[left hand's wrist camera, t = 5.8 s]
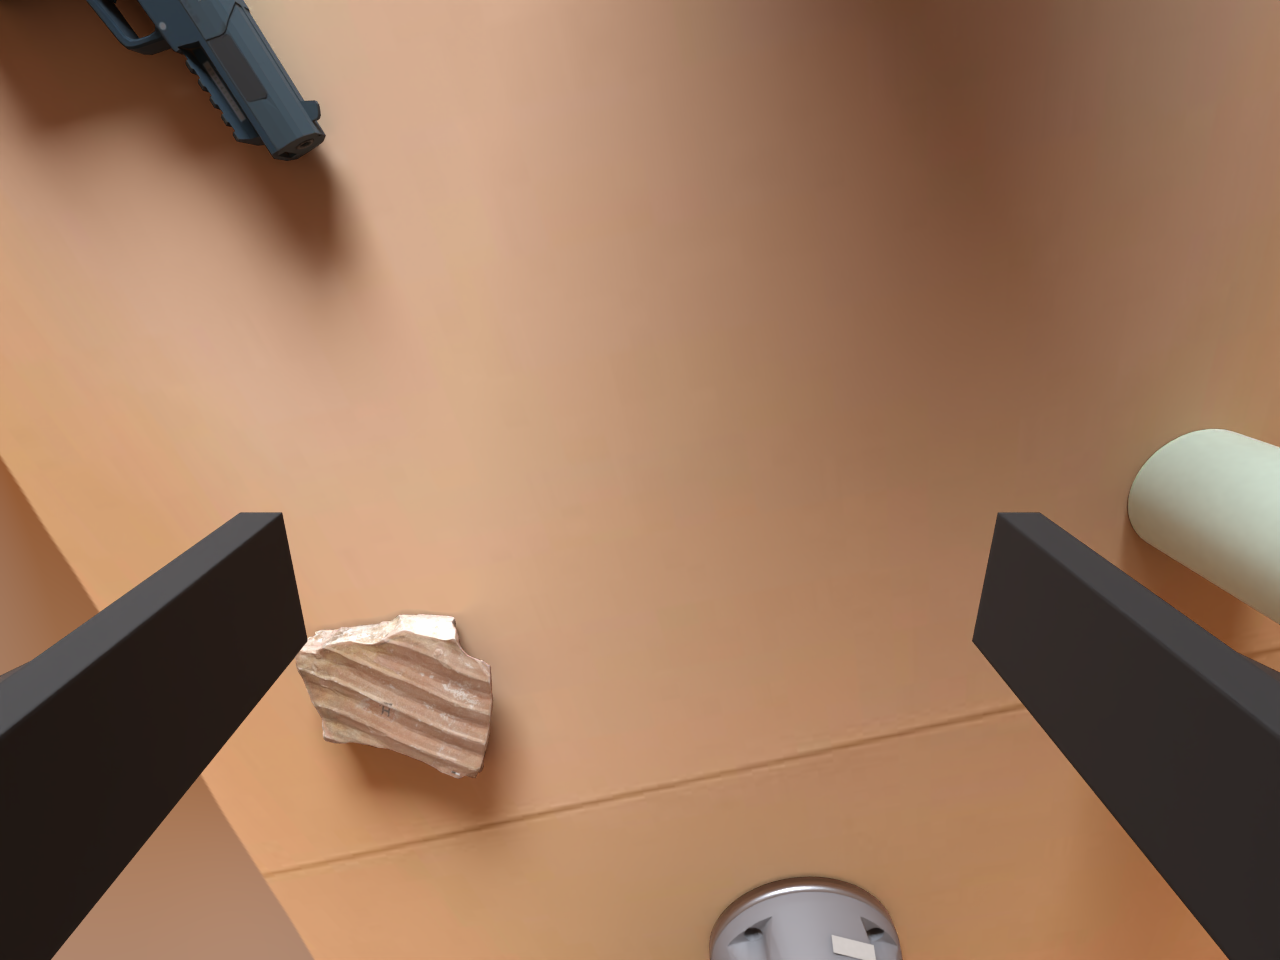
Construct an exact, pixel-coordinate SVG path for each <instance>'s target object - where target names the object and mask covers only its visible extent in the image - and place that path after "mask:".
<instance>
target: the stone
mask: <svg viewBox="0 0 1280 960" xmlns="http://www.w3.org/2000/svg"><path fill="white" fill-rule="evenodd" d="M315 633H316V635H315V636H313V637H309V638H308V639H307V640H308V641H307V643H306V644H305V645H304V646H303V648H302V649H301V650H300V651H299V653H298V654H297V655H296V656H295V659H296V666H297V669H298V672H299V674H300V675H301V677H302V678H303V680H304V683H305V686H306V688H307V691H308V693H309V695H310V698H311V701H312V703H313V705H314V706H315V708H316V709H317V711H318V713H319V714H320V716H321V718H322V728H323V738H324V740H325V741H328V742H332V743H360V744H365V745H370V746H373V747H377V748H386V749H390V750H393V751H396V752H399V753H401V754H404V755H406V756H409V757H412V758H414V759H417V760H419V761H422V762H424V763H426V764H428V765H430V766H432V767H434V768H436V769H437V770H439V771H440V772H442V773H445V774H448V775H450V776H453V777H455V778H458V779H459V778H462V777H464V776H469V777H473V778H476V776H477V773H478V772H481V771H482V769H483V767H484V760H483V759H484V756H485V753H486V747H487V745H488V739H489V735H490V725H489V723H490V719H491V713H492V708H493V696H492V680H491V667H490V665H489V664H487V663H486V662H484V661H483V660H479V659H476V658H473V657H471V656H469V655H468V654H467V653H466V652H464V651H463V649H462V647H461V646H460V644H459V636H458V632H457V630H456V628H455V618H454V617H451V616H441V615H424V614H418V615H398V616H397V617H396V618H395V619H394V620H392V621H385V622H381V623H379V624H374V625H365V626H356V627H348V628H345V627H341V628H339V629H335V630H320V631H317V632H315Z"/></svg>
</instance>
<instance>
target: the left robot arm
mask: <svg viewBox="0 0 1280 960" xmlns="http://www.w3.org/2000/svg"><path fill="white" fill-rule="evenodd" d="M307 641H308V640H307V635H306V630H305V625H304V620H303V615H302V610H301V605H300V600H299V595H298V590H297V585H296V580H295V575H294V570H293V565H292V560H291V555H290V550H289V545H288V540H287V535H286V530H285V525H284V520H283V515H282V513H239V514H238V515H236V516H235V517H233V518H232V519H231V520H229V521H228V522H226V523H225V524H223V525H222V526H221V527H219V528H218V529H216V530H215V531H214V532H212V533H211V534H209V535H208V536H207V537H205V538H204V539H202V540H201V541H200V542H198V543H197V544H195V545H194V546H192V547H191V548H190V549H188V550H187V551H185V552H184V553H183V554H181V555H180V556H178V557H177V558H176V559H174V560H173V561H171V562H170V563H168V564H167V565H166V566H164V567H163V568H161V569H160V570H159V571H157V572H156V573H154V574H153V575H152V576H150V577H149V578H147V579H146V580H144V581H143V582H142V583H140V584H139V585H137V586H136V587H135V588H133V589H132V590H130V591H129V592H128V593H126V594H125V595H123V596H122V597H121V598H119V599H118V600H116V601H115V602H113V603H112V604H111V605H109V606H108V607H106V608H105V609H104V610H102V611H101V612H99V613H98V614H97V615H95V616H94V617H92V618H91V619H89V620H88V621H87V622H85V623H84V624H82V625H81V626H80V627H78V628H77V629H75V630H74V631H73V632H71V633H70V634H68V635H67V636H65V637H64V638H63V639H61V640H60V641H58V642H57V643H56V644H54V645H53V646H51V647H50V648H49V649H47V650H46V651H44V652H43V653H42V654H40V655H39V656H37V657H36V658H34V659H33V660H32V661H30V662H28V663H26V664H23V665H21V666H19V667H17V668H15V669H13V670H11V671H9V672H7V673H5V674H3V675H1V676H0V960H51V959H52V958H53V956H54V955H55V954H56V952H57V951H58V950H59V949H60V948H61V946H62V945H63V944H64V943H65V941H66V940H67V939H68V938H69V936H70V935H71V934H72V933H73V931H74V930H75V929H76V928H77V927H78V925H79V924H80V923H81V922H82V920H83V919H84V918H85V917H86V915H87V914H88V913H89V912H90V910H91V909H92V908H93V907H94V905H95V904H96V903H97V902H98V901H99V899H100V898H101V897H102V896H103V894H104V893H105V892H106V891H107V889H108V888H109V887H110V886H111V884H112V883H113V882H114V881H115V879H116V878H117V877H118V876H119V874H120V873H121V872H122V871H123V870H124V868H125V867H126V866H127V865H128V863H129V862H130V861H131V860H132V858H133V857H134V856H135V855H136V853H137V852H138V851H139V850H140V848H141V847H142V846H143V845H144V843H145V842H146V841H147V840H148V839H149V837H150V836H151V835H152V834H153V832H154V831H155V830H156V829H157V827H158V826H159V825H160V824H161V822H162V821H163V820H164V819H165V817H166V816H167V815H168V814H169V813H170V811H171V810H172V809H173V808H174V806H175V805H176V804H177V803H178V801H179V800H180V799H181V798H182V796H183V795H184V794H185V793H186V791H187V790H188V789H189V788H190V786H191V785H192V784H193V783H194V781H195V780H196V779H197V778H198V777H199V775H200V774H201V773H202V772H203V770H204V769H205V768H206V767H207V765H208V764H209V763H210V762H211V760H212V759H213V758H214V757H215V755H216V754H217V753H218V752H219V751H220V749H221V748H222V747H223V746H224V744H225V743H226V742H227V741H228V739H229V738H230V737H231V736H232V734H233V733H234V732H235V731H236V729H237V728H238V727H239V726H240V724H241V723H242V722H243V721H244V720H245V718H246V717H247V716H248V715H249V713H250V712H251V711H252V710H253V708H254V707H255V706H256V705H257V703H258V702H259V701H260V700H261V698H262V697H263V696H264V695H265V693H266V692H267V691H268V690H269V689H270V687H271V686H272V685H273V684H274V682H275V681H276V680H277V679H278V677H279V676H280V675H281V674H282V672H283V671H284V670H285V669H286V667H287V666H288V665H289V664H290V663H291V661H292V660H293V659H294V658H295V656H296V655H297V654H298V653H299V651H300V650H301V649H302V648H303V646H304V645H305V644H306V643H307ZM972 641H973V643H974V644H975V645H976V646H977V648H978V649H979V650H980V651H981V653H982V654H983V655H984V656H985V658H986V659H987V660H988V661H989V663H990V664H991V665H992V666H993V667H994V669H995V670H996V671H997V672H998V674H999V675H1000V676H1001V677H1002V679H1003V680H1004V681H1005V682H1006V684H1007V685H1008V686H1009V687H1010V689H1011V690H1012V691H1013V692H1014V693H1015V695H1016V696H1017V697H1018V698H1019V700H1020V701H1021V702H1022V703H1023V705H1024V706H1025V707H1026V708H1027V710H1028V711H1029V712H1030V713H1031V715H1032V716H1033V717H1034V718H1035V720H1036V721H1037V722H1038V723H1039V724H1040V726H1041V727H1042V728H1043V729H1044V731H1045V732H1046V733H1047V734H1048V736H1049V737H1050V738H1051V739H1052V741H1053V742H1054V743H1055V744H1056V746H1057V747H1058V748H1059V749H1060V751H1061V752H1062V753H1063V754H1064V755H1065V757H1066V758H1067V759H1068V760H1069V762H1070V763H1071V764H1072V765H1073V767H1074V768H1075V769H1076V770H1077V772H1078V773H1079V774H1080V775H1081V777H1082V778H1083V779H1084V780H1085V782H1086V783H1087V784H1088V785H1089V786H1090V788H1091V789H1092V790H1093V791H1094V793H1095V794H1096V795H1097V796H1098V798H1099V799H1100V800H1101V801H1102V803H1103V804H1104V805H1105V806H1106V808H1107V809H1108V810H1109V811H1110V813H1111V814H1112V815H1113V816H1114V817H1115V819H1116V820H1117V821H1118V822H1119V824H1120V825H1121V826H1122V827H1123V829H1124V830H1125V831H1126V832H1127V834H1128V835H1129V836H1130V837H1131V839H1132V840H1133V841H1134V842H1135V843H1136V845H1137V846H1138V847H1139V848H1140V850H1141V851H1142V852H1143V853H1144V855H1145V856H1146V857H1147V858H1148V860H1149V861H1150V862H1151V863H1152V865H1153V866H1154V867H1155V868H1156V870H1157V871H1158V872H1159V873H1160V874H1161V876H1162V877H1163V878H1164V879H1165V881H1166V882H1167V883H1168V884H1169V886H1170V887H1171V888H1172V889H1173V891H1174V892H1175V893H1176V894H1177V896H1178V897H1179V898H1180V899H1181V901H1182V902H1183V903H1184V904H1185V905H1186V907H1187V908H1188V909H1189V910H1190V912H1191V913H1192V914H1193V915H1194V917H1195V918H1196V919H1197V920H1198V922H1199V923H1200V924H1201V925H1202V927H1203V928H1204V929H1205V930H1206V932H1207V933H1208V934H1209V935H1210V936H1211V938H1212V939H1213V940H1214V941H1215V943H1216V944H1217V945H1218V946H1219V948H1220V949H1221V950H1222V951H1223V953H1224V954H1225V955H1226V956H1227V958H1228V959H1229V960H1280V672H1277V671H1275V670H1273V669H1271V668H1269V667H1267V666H1265V665H1263V664H1261V663H1259V662H1257V661H1254V660H1252V659H1250V658H1248V657H1246V656H1244V655H1242V654H1240V653H1237V652H1236V651H1234V650H1233V649H1231V648H1230V647H1229V646H1227V645H1226V644H1224V643H1223V642H1222V641H1220V640H1219V639H1217V638H1216V637H1215V636H1213V635H1212V634H1210V633H1209V632H1207V631H1206V630H1205V629H1203V628H1202V627H1200V626H1199V625H1198V624H1196V623H1195V622H1193V621H1192V620H1191V619H1189V618H1188V617H1186V616H1185V615H1183V614H1182V613H1181V612H1179V611H1178V610H1176V609H1175V608H1174V607H1172V606H1171V605H1169V604H1168V603H1167V602H1165V601H1164V600H1162V599H1161V598H1159V597H1158V596H1157V595H1155V594H1154V593H1152V592H1151V591H1150V590H1148V589H1147V588H1145V587H1144V586H1143V585H1141V584H1140V583H1138V582H1137V581H1136V580H1134V579H1133V578H1131V577H1130V576H1128V575H1127V574H1126V573H1124V572H1123V571H1121V570H1120V569H1119V568H1117V567H1116V566H1114V565H1113V564H1112V563H1110V562H1109V561H1107V560H1106V559H1104V558H1103V557H1102V556H1100V555H1099V554H1097V553H1096V552H1095V551H1093V550H1092V549H1090V548H1089V547H1088V546H1086V545H1085V544H1083V543H1082V542H1080V541H1079V540H1078V539H1076V538H1075V537H1073V536H1072V535H1071V534H1069V533H1068V532H1066V531H1065V530H1064V529H1062V528H1061V527H1059V526H1058V525H1057V524H1055V523H1054V522H1052V521H1051V520H1049V519H1048V518H1047V517H1045V516H1044V515H1042V514H1041V513H998V514H997V520H996V525H995V530H994V535H993V540H992V545H991V550H990V555H989V560H988V565H987V570H986V575H985V580H984V585H983V590H982V595H981V600H980V605H979V610H978V615H977V620H976V625H975V630H974V635H973V640H972ZM709 952H710V960H903V959H902V953H901V948H900V944H899V939H898V936H897V933H896V930H895V927H894V925H893V922H892V919H891V917H890V915H889V913H888V912H887V910H886V909H885V907H884V906H883V905H882V904H881V903H880V902H879V901H878V900H877V899H876V898H875V897H874V896H872V895H871V894H870V893H868V892H866V891H865V890H863V889H861V888H859V887H857V886H855V885H852V884H850V883H847V882H843V881H840V880H835V879H830V878H822V877H797V878H789V879H783V880H779V881H775V882H771V883H768V884H765V885H763V886H760V887H758V888H755V889H753V890H751V891H750V892H748V893H746V894H744V895H743V896H741V897H740V898H738V899H737V900H736V901H734V902H733V903H732V904H731V905H730V906H729V907H727V908H726V910H725V911H724V912H723V913H722V914H721V916H720V917H719V918H718V920H717V922H716V923H715V925H714V927H713V930H712V933H711V936H710V942H709Z"/></svg>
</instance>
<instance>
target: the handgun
mask: <svg viewBox="0 0 1280 960" xmlns="http://www.w3.org/2000/svg"><path fill="white" fill-rule="evenodd" d="M86 1H87V2H88V3H89V5H90V6H91V7H92V8H93V10H94V11H95V12H96V13H97V15H98V16H99V17H100V18H101V20H102V21H103V22H104V23H105V24H106V26H107V27H108V28H109V29H110V31H111V32H112V33H113V34H114V36H115V37H116V38H117V39H118V41H119V42H120V43H121V44H122V45H124V46H125V47H126V48H127V49H129V50H132V51H135V52H138V53H141V54H145V55H153V54H156V53H159V52H162V51H165V50H167V49H170V48H172V49H173V50H174V51H175V52H178V53H181V54H183V55H185V56H186V58H187V59H188V60H186V66H187V67H188V69H189V70H190V72H191V73H193V74H196V75H198V76H199V77H200V79H198V84H199V85H200V87H201V88H202V90H203V91H206V92H210V94H211V95H212V96H210V102H211V103H212V105H213V106H214V108H217V109H220V110H221V111H222V112H223V114H222V115H221V118H222V120H223V121H224V123H225V124H226V126H230V127H233V129H234V130H235V132H233V136H234V138H235V139H236V141H238V142H243V143H248V144H253V145H265V146H266V147H267V149H268V150H269V152H270V153H271V155H272V156H273V158H274V159H280V160H286V161H288V160H294V159H298V158H299V157H301V156H303V155H304V154H306V153H307V152H309V151H310V150H312V149H314V148H315V147H316V146H318V145H319V144H321V143H322V142H323V141H324V138H325V136H326V135H325V134H324V132H323V130H322V129H321V127H320V126H319V124H318V122H317V120H319V119H320V116H321V114H320V107H319V104H318V102H317V101H304V100H303V98H302V96H301V95H300V93H299V92H298V90H297V88H296V87H295V85H294V84H293V82H292V80H291V79H290V77H289V75H288V74H287V72H286V71H285V69H284V67H283V66H282V64H281V63H280V61H279V59H278V58H277V56H276V55H275V53H274V51H273V50H272V48H271V46H270V45H269V43H268V42H267V40H266V38H265V37H264V35H263V34H262V32H261V30H260V29H259V27H258V25H257V24H256V22H255V21H254V19H253V17H252V16H251V14H250V11H249V9H248V7H247V5H246V4H245V2H244V1H243V0H138V2H139V3H140V5H141V6H142V7H143V9H144V10H145V12H146V13H147V14H148V16H149V17H150V19H151V20H152V21H153V23H154V24H155V31H154V32H153V33H152V34H150V35H149V36H146V37H143V38H139V37H138V36H137V34H136V33H135V32H134V31H133V29H132V28H131V27H130V25H129V24H128V22H127V21H126V20H125V18H124V17H123V15H122V14H121V13H120V11H119V10H118V8H117V7H116V6H115V4H114V3H116V0H86ZM113 2H114V3H113Z"/></svg>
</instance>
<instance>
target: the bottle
mask: <svg viewBox="0 0 1280 960" xmlns="http://www.w3.org/2000/svg"><path fill="white" fill-rule="evenodd" d="M1128 514H1129V519H1130V522H1131V524H1132V527H1133V528H1134V530H1135V531H1136V533H1137V534H1138V535H1139V536H1140V537H1141V538H1142V539H1143V540H1144V541H1145V542H1147V543H1148V544H1150V545H1152V546H1153V547H1155V548H1156V549H1158V550H1160V551H1161V552H1163V553H1165V554H1166V555H1168V556H1169V557H1171V558H1173V559H1174V560H1176V561H1178V562H1179V563H1181V564H1182V565H1184V566H1186V567H1187V568H1189V569H1190V570H1192V571H1194V572H1195V573H1197V574H1199V575H1200V576H1202V577H1203V578H1205V579H1207V580H1208V581H1210V582H1211V583H1213V584H1215V585H1216V586H1218V587H1220V588H1221V589H1223V590H1224V591H1226V592H1228V593H1229V594H1231V595H1233V596H1234V597H1236V598H1237V599H1239V600H1241V601H1242V602H1244V603H1245V604H1247V605H1249V606H1250V607H1252V608H1254V609H1255V610H1257V611H1258V612H1260V613H1262V614H1263V615H1265V616H1266V617H1268V618H1270V619H1271V620H1273V621H1275V622H1276V623H1278V624H1279V625H1280V447H1277V446H1274V445H1271V444H1268V443H1265V442H1263V441H1260V440H1257V439H1254V438H1251V437H1248V436H1245V435H1242V434H1239V433H1236V432H1233V431H1229V430H1224V429H1205V430H1199V431H1195V432H1191V433H1188V434H1185V435H1183V436H1180V437H1178V438H1176V439H1174V440H1172V441H1171V442H1169V443H1167V444H1166V445H1164V446H1163V447H1162V448H1160V449H1159V450H1158V451H1157V452H1155V453H1154V454H1153V455H1152V456H1151V457H1150V458H1149V459H1148V460H1147V461H1146V463H1145V464H1144V465H1143V466H1142V468H1141V469H1140V471H1139V472H1138V474H1137V476H1136V478H1135V479H1134V481H1133V484H1132V487H1131V489H1130V493H1129V497H1128Z"/></svg>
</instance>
